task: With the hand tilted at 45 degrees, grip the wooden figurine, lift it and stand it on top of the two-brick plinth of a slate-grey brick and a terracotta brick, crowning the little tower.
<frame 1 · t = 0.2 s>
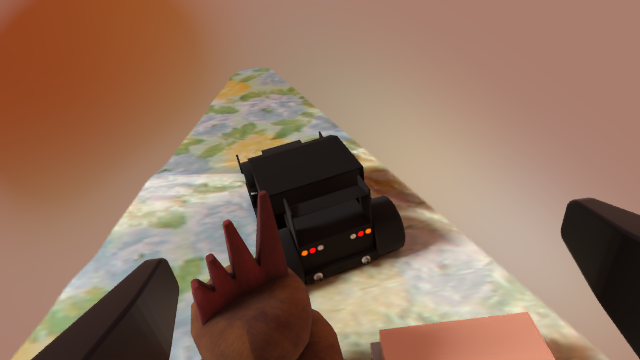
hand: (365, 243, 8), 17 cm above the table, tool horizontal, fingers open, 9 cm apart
black toy car: (307, 208, 37), on the table
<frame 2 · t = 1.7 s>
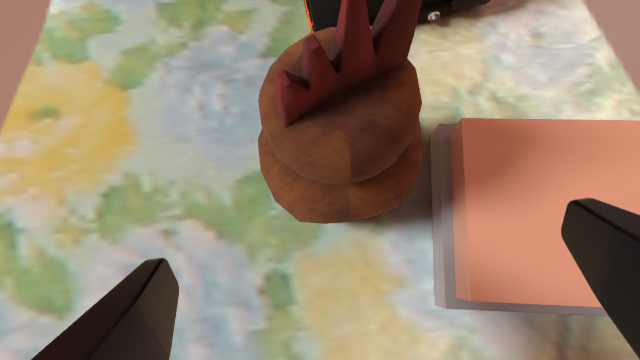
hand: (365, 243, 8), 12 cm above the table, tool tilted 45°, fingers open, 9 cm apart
brick plinth: (518, 219, 20), on the table
wooden figurine: (340, 179, 21), on the table
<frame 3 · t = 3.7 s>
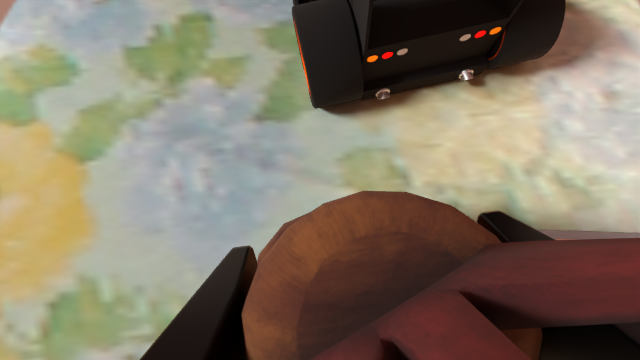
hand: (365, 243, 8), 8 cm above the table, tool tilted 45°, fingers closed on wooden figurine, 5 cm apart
brick plinth: (597, 350, 15), on the table
wooden figurine: (358, 287, 16), on the table, touching gripper
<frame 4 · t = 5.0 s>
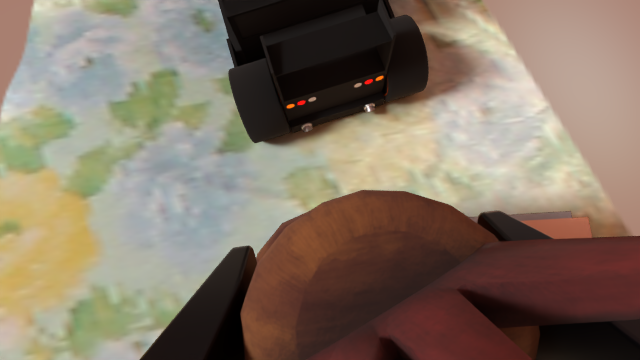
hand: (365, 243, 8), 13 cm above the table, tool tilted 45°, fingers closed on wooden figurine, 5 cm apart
brick plinth: (480, 302, 20), on the table
wooden figurine: (356, 286, 16), point 5 cm above the table, touching gripper
when the fingers open (13 cm above the table, at t = 6.3 s): wooden figurine stays where it is, resting on brick plinth.
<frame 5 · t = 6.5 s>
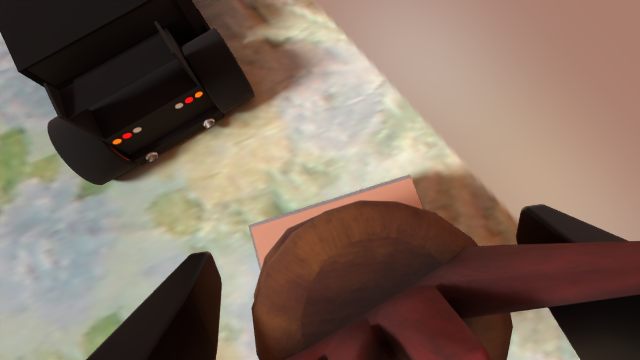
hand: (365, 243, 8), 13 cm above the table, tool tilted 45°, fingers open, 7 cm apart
brick plinth: (354, 282, 21), on the table
wooden figurine: (357, 288, 17), point 4 cm above the table, touching brick plinth
black toy car: (127, 35, 26), on the table
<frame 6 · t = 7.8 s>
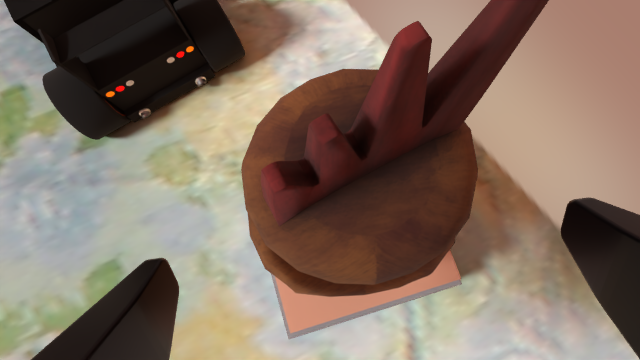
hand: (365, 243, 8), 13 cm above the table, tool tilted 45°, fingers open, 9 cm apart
brick plinth: (346, 228, 21), on the table
wooden figurine: (347, 223, 18), point 4 cm above the table, touching brick plinth
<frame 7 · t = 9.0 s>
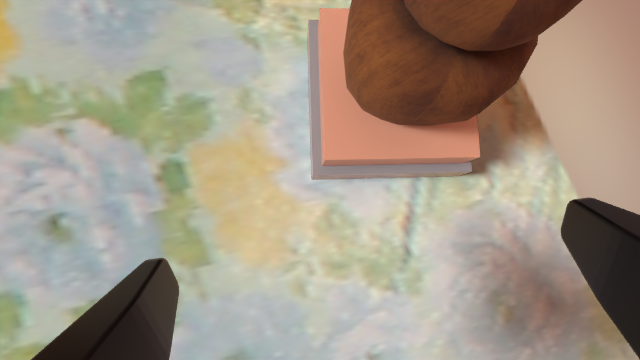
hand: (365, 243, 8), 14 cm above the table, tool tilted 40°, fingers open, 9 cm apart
brick plinth: (381, 106, 23), on the table
wooden figurine: (397, 85, 19), point 4 cm above the table, touching brick plinth
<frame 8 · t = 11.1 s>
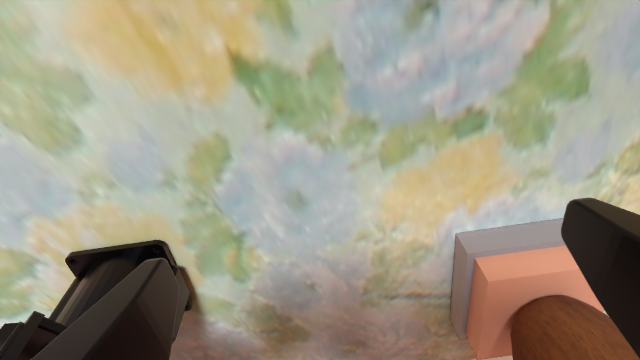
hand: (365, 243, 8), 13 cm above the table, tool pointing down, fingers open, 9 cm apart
brick plinth: (512, 271, 28), on the table
wooden figurine: (540, 313, 25), point 4 cm above the table, touching brick plinth
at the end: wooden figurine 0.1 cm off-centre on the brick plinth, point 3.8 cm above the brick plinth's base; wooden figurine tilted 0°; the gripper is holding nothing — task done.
